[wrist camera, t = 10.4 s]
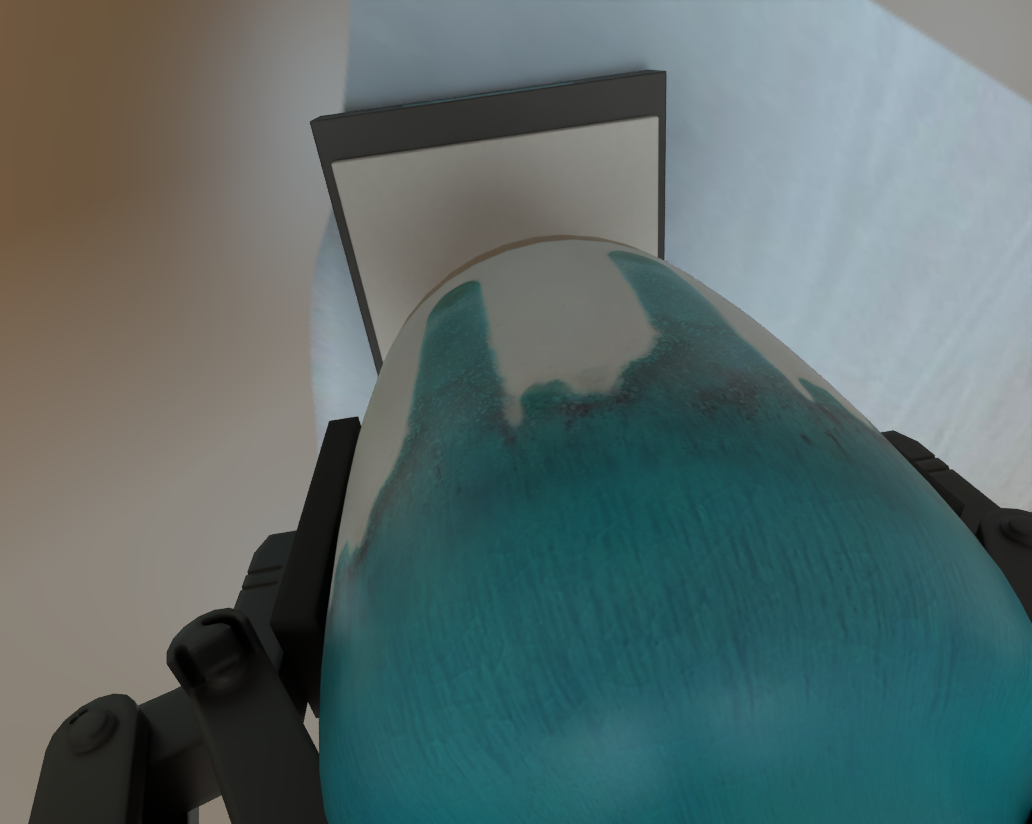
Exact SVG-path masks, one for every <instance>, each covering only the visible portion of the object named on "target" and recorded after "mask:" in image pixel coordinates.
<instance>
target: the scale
mask: <svg viewBox="0 0 1032 824" xmlns="http://www.w3.org/2000/svg"><path fill="white" fill-rule="evenodd" d="M310 125H311V128H312V132H313V136H314V140H315V143H316V147H317V151H318V155H319V158H320V162H321V166H322V169H323V173H324V177H325V180H326V184H327V188H328V192H329V195H330V199H331V203H332V207H333V210H334V214H335V218H336V222H337V225H338V229H339V233H340V236H341V240H342V244H343V248H344V251H345V255H346V259H347V262H348V266H349V270H350V274H351V277H352V281H353V285H354V288H355V292H356V296H357V300H358V303H359V307H360V311H361V315H362V318H363V322H364V326H365V329H366V333H367V337H368V341H369V344H370V348H371V352H372V355H373V359H374V363H375V367H376V370H377V374H378V376H379V373H380V371H381V368H382V365H383V363H384V360H385V358H386V355H387V353H388V351H389V349H390V348H391V346H392V344H393V342H394V340H395V339H396V337H397V335H398V333H399V331H400V330H401V328H402V326H403V324H404V323H405V321H406V319H407V317H408V316H409V315H410V314H411V313H412V311H413V310H414V309H415V308H416V306H417V305H418V304H419V303H420V302H421V300H422V299H423V298H424V297H425V295H426V294H427V293H429V292H430V291H431V290H432V289H433V288H434V287H435V286H436V285H438V284H439V283H440V282H441V281H442V280H443V279H444V278H445V277H447V276H448V275H449V274H450V273H451V272H452V271H454V270H456V269H457V268H459V267H460V266H462V265H463V264H465V263H467V262H468V261H470V260H471V259H473V258H475V257H476V256H478V255H481V254H483V253H485V252H488V251H490V250H492V249H495V248H497V247H499V246H502V245H504V244H508V243H512V242H516V241H520V240H524V239H528V238H531V237H541V236H552V235H575V236H589V237H599V238H603V239H607V240H612V241H616V242H620V243H624V244H627V245H630V246H632V247H635V248H637V249H639V250H642V251H644V252H646V253H649V254H651V255H653V256H655V257H658V258H660V259H662V260H664V239H665V152H666V71H658V70H645V71H638V72H631V73H624V74H616V75H609V76H602V77H595V78H588V79H581V80H574V81H567V82H560V83H552V84H545V85H538V86H531V87H524V88H517V89H510V90H503V91H496V92H488V93H481V94H474V95H467V96H460V97H453V98H446V99H439V100H432V101H424V102H417V103H410V104H403V105H396V106H389V107H382V108H375V109H367V110H360V111H353V112H346V113H339V114H332V115H325V116H320V117H318V118H316V119H314V120H312V121H310Z"/></svg>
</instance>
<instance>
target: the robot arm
mask: <svg viewBox="0 0 1032 824" xmlns="http://www.w3.org/2000/svg"><path fill="white" fill-rule="evenodd" d="M360 430H361V425H360V421H359V418H358V417H351V418H345V419H339V420H332V421H329V423H328V427H327V430H326V434H325V437H324V440H323V444H322V447H321V450H320V454H319V457H318V461H317V464H316V467H315V471H314V474H313V477H312V481H311V484H310V488H309V491H308V494H307V498H306V501H305V504H304V508H303V512H302V514H301V518H300V521H299V525H298V528H297V531H291V532H285V533H279V534H272V535H269V536H268V538H267V539H266V540H265V541H264V542H263V544H262V545H261V546H260V547H259V548H258V549H257V550H256V552H255V553H254V555H253V558H252V561H251V564H250V566H249V569H248V575H247V576H246V577H245V580H244V583H243V585H242V590H241V591H240V593H239V596H238V599H237V601H236V604H235V607H234V609H232V608H225V609H218V610H213V611H211V612H209V613H206V614H204V615H201V616H199V617H197V618H196V619H195V620H193V621H192V622H190V623H189V624H188V625H186V626H185V627H184V628H183V629H182V630H181V631H180V632H179V633H178V634H177V635H176V636H175V637H174V639H173V640H172V642H171V644H170V647H169V649H168V650H167V665H168V667H169V668H170V670H171V671H172V673H173V674H174V675H175V677H176V679H177V680H178V682H179V683H180V685H181V686H180V687H178V688H177V689H175V690H173V691H170V692H168V693H166V694H163V695H161V696H159V697H157V698H154V699H152V700H150V701H147V702H145V703H143V704H141V705H137V704H136V702H135V701H134V700H132V699H131V698H130V697H129V696H128V695H123V694H111V695H107V696H104V697H100V698H97V699H95V700H93V701H91V702H89V703H88V704H86V705H84V706H82V707H81V708H79V709H78V710H77V711H76V712H74V713H73V714H72V715H71V716H70V717H68V718H67V719H66V720H65V721H64V722H63V723H62V724H61V726H60V727H59V728H58V729H57V731H56V732H55V733H54V734H53V736H52V738H51V740H50V742H49V745H48V747H47V749H46V752H45V756H44V760H43V764H42V769H41V773H40V777H39V782H38V786H37V790H36V794H35V798H34V803H33V806H32V811H31V815H30V819H29V823H28V824H199V806H200V805H203V804H205V803H207V802H209V801H211V800H213V799H215V798H217V797H219V796H220V795H222V797H223V800H224V803H225V806H226V809H227V812H228V815H229V818H230V821H231V823H232V824H328V821H327V818H326V815H325V811H324V804H323V796H322V788H321V780H320V772H319V753H318V751H317V749H316V747H315V745H314V744H313V741H312V739H311V737H310V735H309V734H308V732H307V730H306V728H305V726H304V724H303V723H304V717H305V713H306V707H307V703H309V705H310V707H311V709H312V711H313V713H314V715H315V717H316V718H319V710H320V688H321V668H322V658H323V647H324V637H325V626H326V618H327V611H328V604H329V597H330V590H331V583H332V576H333V569H334V562H335V555H336V548H337V542H338V535H339V529H340V524H341V518H342V513H343V507H344V502H345V496H346V491H347V485H348V481H349V476H350V471H351V467H352V462H353V458H354V453H355V448H356V444H357V441H358V437H359V433H360ZM881 434H882V435H883V436H884V437H885V438H886V439H887V440H888V441H889V442H890V443H891V444H892V445H893V446H894V447H895V448H896V449H897V450H898V451H899V452H900V453H901V454H902V455H903V457H904V458H905V459H906V460H907V461H908V462H909V463H910V464H911V465H912V466H913V467H914V468H915V469H916V470H917V471H918V472H919V473H920V474H921V475H922V476H923V477H924V478H925V479H926V480H927V481H928V482H929V484H930V485H931V486H932V487H933V488H934V489H935V490H936V491H937V493H938V494H939V495H940V496H941V497H942V498H943V499H944V501H945V502H946V503H947V504H948V505H949V506H950V507H951V509H952V510H953V511H954V512H955V513H956V514H957V516H958V517H959V518H960V519H961V520H962V521H963V522H964V524H965V525H966V526H967V527H968V528H969V529H970V531H971V532H972V533H973V534H974V536H975V537H976V538H977V540H978V541H979V542H980V544H981V545H982V546H983V547H984V549H985V550H986V551H987V553H988V554H989V555H990V556H991V558H992V559H993V560H994V562H995V563H996V564H997V565H998V567H999V568H1000V569H1001V571H1002V572H1003V574H1004V575H1005V577H1006V579H1007V580H1008V582H1009V584H1010V585H1011V587H1012V589H1013V590H1014V592H1015V594H1016V595H1017V597H1018V599H1019V600H1020V602H1021V604H1022V606H1023V608H1024V610H1025V612H1026V614H1027V616H1028V618H1029V619H1030V621H1031V623H1032V513H1031V512H1028V511H1024V510H1020V509H1009V508H1000V507H999V506H998V505H996V504H995V503H994V502H993V501H991V500H990V499H989V498H988V497H986V496H985V495H984V494H983V493H981V492H980V491H979V490H978V489H976V488H975V487H974V486H973V485H971V484H970V483H969V482H968V481H966V480H965V479H964V478H963V477H961V476H960V475H959V474H958V473H956V472H955V471H954V470H953V469H951V470H950V469H949V466H948V465H946V464H945V463H944V462H943V461H941V460H940V459H939V458H935V455H934V454H933V453H931V452H930V451H929V450H928V449H926V448H925V447H924V446H923V445H921V444H920V443H919V442H918V441H916V440H913V439H911V438H909V437H907V436H905V435H902V434H900V433H898V432H896V431H894V430H893V431H887V432H881ZM1029 824H1032V817H1031V820H1030V823H1029Z"/></svg>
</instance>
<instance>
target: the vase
mask: <svg viewBox="0 0 1032 824" xmlns="http://www.w3.org/2000/svg"><path fill="white" fill-rule="evenodd" d="M319 772H320V780H321V788H322V796H323V804H324V811H325V815H326V818H327V821H328V824H1029V823H1030V820H1031V817H1032V623H1031V621H1030V619H1029V618H1028V616H1027V614H1026V612H1025V610H1024V608H1023V606H1022V604H1021V602H1020V600H1019V599H1018V597H1017V595H1016V594H1015V592H1014V590H1013V589H1012V587H1011V585H1010V584H1009V582H1008V580H1007V579H1006V577H1005V575H1004V574H1003V572H1002V571H1001V569H1000V568H999V567H998V565H997V564H996V563H995V562H994V560H993V559H992V558H991V556H990V555H989V554H988V553H987V551H986V550H985V549H984V547H983V546H982V545H981V544H980V542H979V541H978V540H977V538H976V537H975V536H974V534H973V533H972V532H971V531H970V529H969V528H968V527H967V526H966V525H965V524H964V522H963V521H962V520H961V519H960V518H959V517H958V516H957V514H956V513H955V512H954V511H953V510H952V509H951V507H950V506H949V505H948V504H947V503H946V502H945V501H944V499H943V498H942V497H941V496H940V495H939V494H938V493H937V491H936V490H935V489H934V488H933V487H932V486H931V485H930V484H929V482H928V481H927V480H926V479H925V478H924V477H923V476H922V475H921V474H920V473H919V472H918V471H917V470H916V469H915V468H914V467H913V466H912V465H911V464H910V463H909V462H908V461H907V460H906V459H905V458H904V457H903V455H902V454H901V453H900V452H899V451H898V450H897V449H896V448H895V447H894V446H893V445H892V444H891V443H890V442H889V441H888V440H887V439H886V438H885V437H884V436H883V435H882V434H881V433H880V432H879V431H878V430H877V429H876V427H875V426H874V425H873V424H872V423H871V422H870V421H869V420H868V419H867V418H866V417H865V416H864V415H863V414H862V413H860V412H859V411H858V410H857V409H856V408H855V407H854V406H853V405H852V404H851V403H850V402H849V401H848V400H847V399H846V398H844V397H843V396H842V395H841V394H840V393H839V392H838V391H837V390H836V389H835V388H834V387H833V386H832V385H831V384H830V383H828V382H827V381H826V380H825V379H824V378H823V377H822V376H821V375H819V374H818V373H817V372H816V371H815V370H814V369H813V368H811V367H810V366H809V365H808V364H807V363H806V362H805V361H803V360H802V359H801V358H800V357H799V356H798V355H797V354H795V353H794V352H793V351H792V350H791V349H790V348H789V347H787V346H786V345H785V344H784V343H782V342H781V341H780V340H779V339H778V338H776V337H775V336H774V335H773V334H771V333H770V332H769V331H768V330H767V329H765V328H764V327H763V326H762V325H760V324H759V323H758V322H757V321H755V320H754V319H753V318H752V317H750V316H749V315H748V314H746V313H745V312H743V311H742V310H741V309H739V308H738V307H736V306H735V305H734V304H732V303H731V302H730V301H728V300H727V299H725V298H724V297H722V296H721V295H719V294H718V293H716V292H715V291H713V290H712V289H710V288H709V287H707V286H706V285H704V284H703V283H702V282H700V281H698V280H697V279H695V278H694V277H692V276H690V275H689V274H687V273H686V272H684V271H682V270H681V269H679V268H677V267H676V266H674V265H672V264H670V263H668V262H667V261H665V260H662V259H660V258H658V257H655V256H653V255H651V254H649V253H646V252H644V251H642V250H639V249H637V248H635V247H632V246H630V245H627V244H624V243H620V242H616V241H612V240H607V239H603V238H599V237H589V236H575V235H552V236H541V237H531V238H528V239H524V240H520V241H516V242H512V243H508V244H504V245H502V246H499V247H497V248H495V249H492V250H490V251H488V252H485V253H483V254H481V255H478V256H476V257H475V258H473V259H471V260H470V261H468V262H467V263H465V264H463V265H462V266H460V267H459V268H457V269H456V270H454V271H452V272H451V273H450V274H449V275H448V276H447V277H445V278H444V279H443V280H442V281H441V282H440V283H439V284H438V285H436V286H435V287H434V288H433V289H432V290H431V291H430V292H429V293H427V294H426V295H425V297H424V298H423V299H422V300H421V302H420V303H419V304H418V305H417V306H416V308H415V309H414V310H413V311H412V313H411V314H410V315H409V316H408V317H407V319H406V321H405V323H404V324H403V326H402V328H401V330H400V331H399V333H398V335H397V337H396V339H395V340H394V342H393V344H392V346H391V348H390V349H389V351H388V353H387V355H386V358H385V360H384V363H383V365H382V368H381V371H380V373H379V376H378V379H377V382H376V385H375V387H374V390H373V393H372V396H371V399H370V402H369V405H368V407H367V410H366V413H365V416H364V419H363V423H362V426H361V430H360V433H359V437H358V441H357V444H356V448H355V453H354V458H353V462H352V467H351V471H350V476H349V481H348V485H347V491H346V496H345V502H344V507H343V513H342V518H341V524H340V529H339V535H338V542H337V548H336V555H335V562H334V569H333V576H332V583H331V590H330V597H329V604H328V611H327V618H326V626H325V637H324V647H323V658H322V668H321V688H320V710H319Z"/></svg>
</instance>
